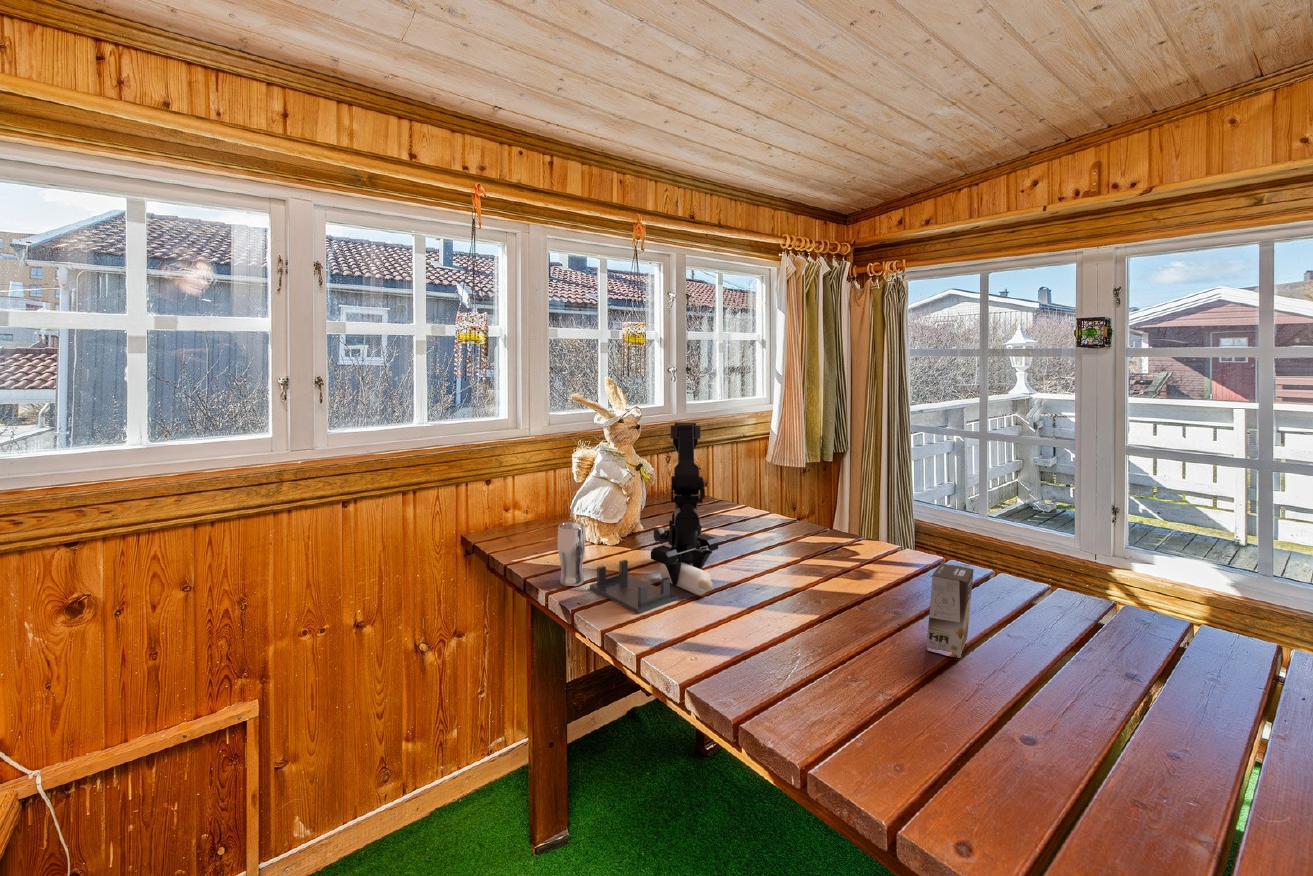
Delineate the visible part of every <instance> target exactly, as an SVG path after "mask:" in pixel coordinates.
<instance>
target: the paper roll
mask: <svg viewBox="0 0 1313 876" xmlns="http://www.w3.org/2000/svg"><path fill="white" fill-rule="evenodd" d="M658 570H659V571H660V572H659V574H660V577H661V578H660V579H663V578H666V577H668V578H670V575H669V572H668V570H667V568H666V566H665V564H662V563H660V564H659V566H658ZM711 579H712V578H711V575H710V573H709V572H708V571H706V570H703V569H698V568H696V567H693V566H692V565H690V564H685V563H683V562H682V563H681V568H680V573H679V578H678V582H677V585H675V586H676V587H678V588H681V589H682V590H685V591H688V592H690V593H692V594H695V595H697V596H701V595H704V594H706V593H707V592H710V591H711V590H712V589H713V587H714V583H713V581H712V580H711ZM670 584H671V585H673V584H672V581H671V578H670Z"/></svg>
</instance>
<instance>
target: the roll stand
mask: <svg viewBox="0 0 1313 876" xmlns="http://www.w3.org/2000/svg"><path fill="white" fill-rule="evenodd" d="M618 564H619V565H618V573H616V574H613V575H609V576H607V567H606V566H605V565H601V566H597V568H596V582H595V583H592V584H589V590H591V591H592V592H595V593H597V594H599V595H601V596H602V597H605V598H607V599H609V600H611V601H612V602H614V603H616V604H619V605H620V606H623V607H624V608H627V610H630V611H632V612H634V613H636V614H637V615H639V614H642V613H645V612H648V611H651V610H653V609H657V608H659V607H661V606H665V605H666V604H669V603H672V602H675V601H677V600H678V596H677V595H676V594H673V593H671V592H670V588H671V586H670V584H671V583H670V578H668V577H666V578H663V579H662V578H660V587H658V586H655V585H654V584H651V583H649V582H647V581H645V580H642V579H640V578H638V577H636V576H633V575H632V574H629V573H628V572H629V570H628V569H629V567H628V564H629V563H628V559H622V560H619V561H618Z"/></svg>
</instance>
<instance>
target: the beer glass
mask: <svg viewBox="0 0 1313 876" xmlns="http://www.w3.org/2000/svg"><path fill="white" fill-rule="evenodd" d="M557 527H558V528H557V551H558V557H559V561H560V567H561V571H560V580H559V584H562V586H563V585H564V587H567V586H574V587H578V586H580V585H582V584H584V583H585V582H584V581H585V580H584V574H583V564H584V563H583V562H584V557H585V551H586V532H585V530H586V529H585V524H584V523H582V522H577V521H576V522H575V521H570V522H563V523H559V524H558V526H557Z"/></svg>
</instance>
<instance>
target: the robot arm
mask: <svg viewBox="0 0 1313 876" xmlns="http://www.w3.org/2000/svg"><path fill="white" fill-rule="evenodd" d="M701 430H702V428H701V425H697V422H677V421H676V422H674V425H670V434H669V435H670V437H669V438H670V439H671V440H672V446H673V447H674V449H675V451H676V452H677V464H676V465H675V466H674V467H673V470H674V471H673V475H671V477H670V479H671V480H670V483H671V484H670V485H671V487H670V489H671V491H670V503H674V510H673V511H672V514H671V519H670V520H669V521H668V524H669V525H668V527H669V528H668V529H664V528H663V527H659V528H656V529H653V539H654V541H655V542H656V543H657V542H659V544H660V546H657V547H653V548H652V549H651V550H650V559H651V560H653V561H655V562H658V563H660V564H661V563H662V564H665V566H666V568H667V570H668V572H669V575H670V578H671V581H672V584H671V585H674V586H676V585H677V582H678V578H679V573H680V568H681V563H682V562H683V563H685V564H688V565H690V564H692V565H691V566H693V567H696V568H698V569H701V570H703V567H704V566H705V564H706V562H707V561H708V559H709V557H710V556H711V555H713V552H714V551H716V550H719V541H718V539H717V537H715V536H711V535H708V534H705V533H702V529H703V528H702V527H703V526H702V525H701V523H700V517H699V516H700V515H699V511H698V509H699V507H698V506H699V504H703V501H704V500H703V499H705V497H706V489H705V487H706V485H705V480H704V477H703V476H700V475H701V474H700V467H699V466H698V465H697V464H696V463H695V449H696V447H697V446H698V440H700V439H701ZM665 543H668V545H669V546H666V545H664V544H665ZM662 544H663V545H662ZM670 546H671V547H670Z"/></svg>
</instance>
